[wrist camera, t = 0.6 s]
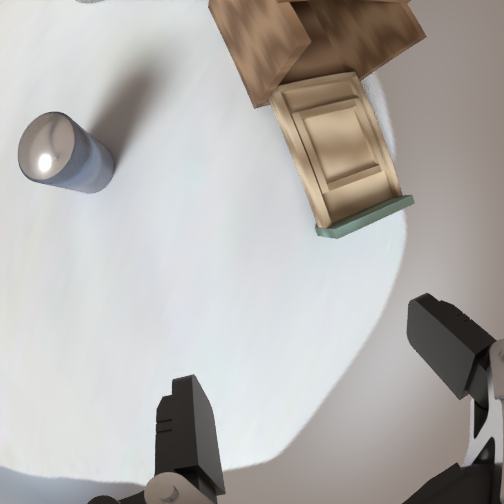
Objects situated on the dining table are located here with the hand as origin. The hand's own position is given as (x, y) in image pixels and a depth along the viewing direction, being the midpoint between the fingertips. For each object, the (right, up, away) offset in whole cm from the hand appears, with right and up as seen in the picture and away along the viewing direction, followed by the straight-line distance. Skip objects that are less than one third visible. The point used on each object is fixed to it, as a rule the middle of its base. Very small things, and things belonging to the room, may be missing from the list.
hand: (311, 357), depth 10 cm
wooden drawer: (+7, +15, +24) cm, 29 cm away
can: (-19, +13, +19) cm, 30 cm away
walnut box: (+2, +30, +22) cm, 37 cm away
